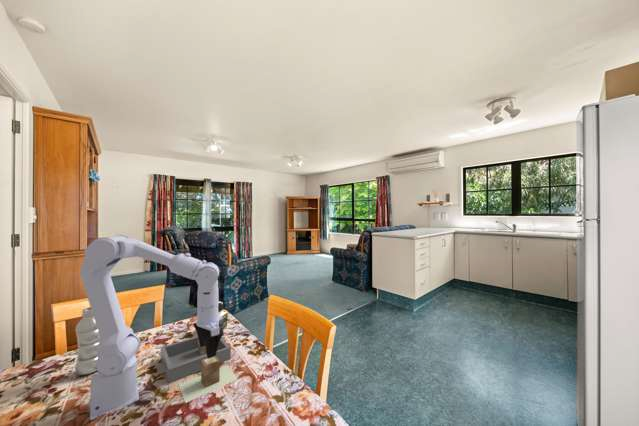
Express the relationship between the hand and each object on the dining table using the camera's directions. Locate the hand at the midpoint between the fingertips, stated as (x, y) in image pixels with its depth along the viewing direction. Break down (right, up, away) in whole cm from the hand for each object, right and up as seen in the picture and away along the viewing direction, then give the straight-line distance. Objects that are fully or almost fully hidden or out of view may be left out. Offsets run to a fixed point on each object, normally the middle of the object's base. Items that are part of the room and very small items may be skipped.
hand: (207, 351), depth 70 cm
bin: (-9, -10, +11) cm, 17 cm away
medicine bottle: (-12, -10, +32) cm, 36 cm away
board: (0, -9, 0) cm, 9 cm away
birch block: (-8, -9, +16) cm, 20 cm away
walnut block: (+1, -9, 0) cm, 9 cm away
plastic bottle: (-40, -10, +5) cm, 42 cm away
